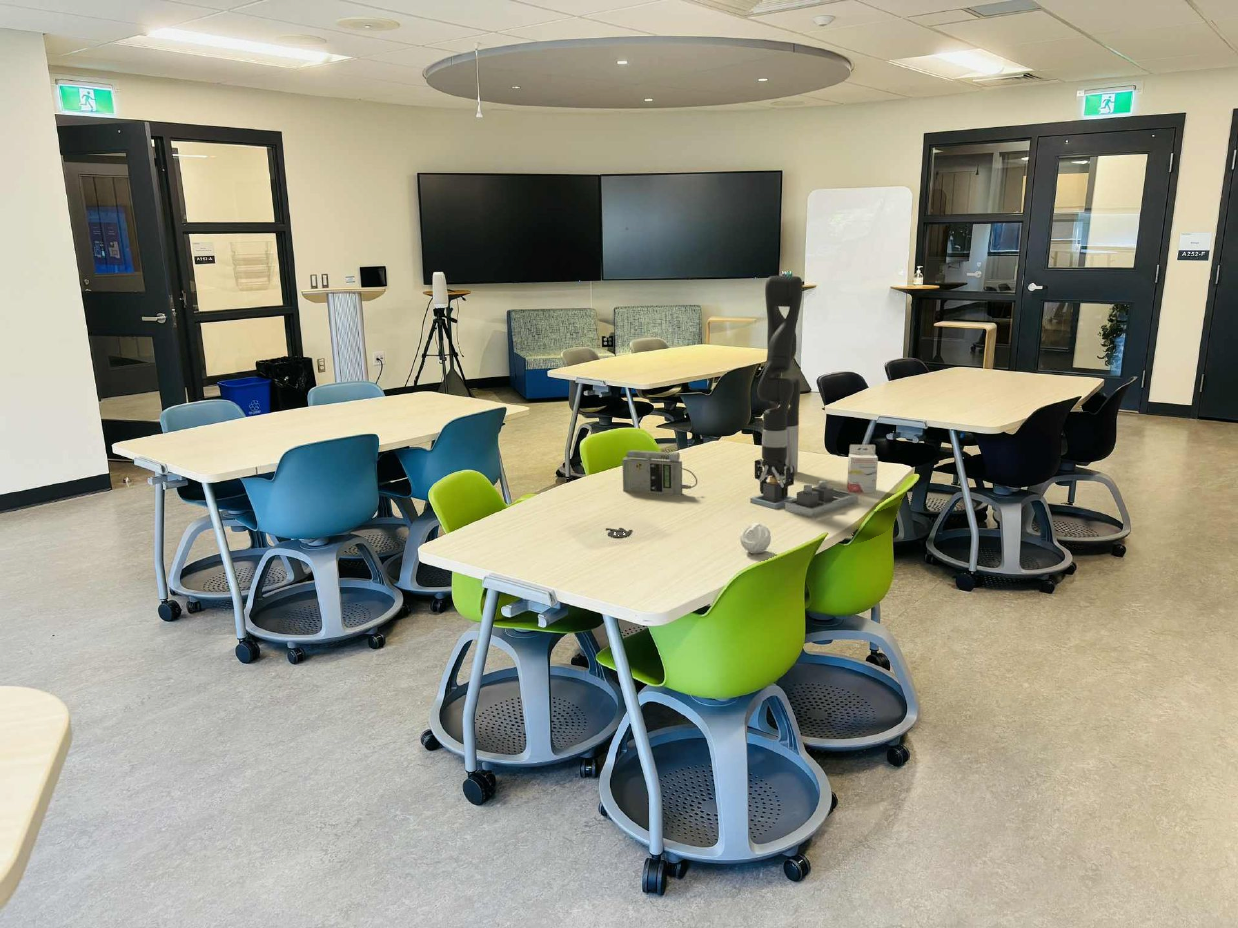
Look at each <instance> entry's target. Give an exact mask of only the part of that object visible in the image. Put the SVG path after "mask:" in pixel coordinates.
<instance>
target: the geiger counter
mask: <svg viewBox="0 0 1238 928" xmlns="http://www.w3.org/2000/svg"><path fill="white" fill-rule="evenodd" d="M680 455H681V454H680V452H679V451H678V452H677V451H670V452H666V451H665V452H664V451H663V452H662V451H649V450H634V449H633V450H632V449H631V450H630V449H629V450H628V451H627V452H626V453H625V457H623V458H622V462H621V463H622V491H623V492H630V493H631V492H632V493H641V494H643V493H644V494H654V495H665V496H677V497H679V496H682V494H683V490H684V489H685V490H688V489H689V490H691V489H693V488H694V487H696V486H697V485H698V479H697V476H696V475H695V474H694V472H692V471H691V470H689V469H687V468H684V467H683V461H682V460H680V457H681V456H680ZM683 471H686V472H689V473H690V474H691V475H692V476H693V477H694V479H695V484H694V485H690V484H689V485H688V484H683Z"/></svg>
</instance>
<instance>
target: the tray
mask: <svg viewBox="0 0 1238 928" xmlns="http://www.w3.org/2000/svg"><path fill="white" fill-rule="evenodd" d="M749 499H750V502H749V503H750V504H754V505H758V506H762V507H765V508H769V509H772V510H778V509H781V508H785V502H788V501H791V500H794V499H797V497H793V496H789V495H788V496H787V497H786V498H785V499H784V501H781V502H778V503H772V502H768V501H764V500H763V494H760V495H757V496H753V497H750V498H749Z"/></svg>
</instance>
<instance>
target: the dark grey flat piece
mask: <svg viewBox="0 0 1238 928" xmlns="http://www.w3.org/2000/svg"><path fill="white" fill-rule="evenodd" d="M605 529H606V530H605V531H607V530H610V531H608V532H607V536H608V537H609V536H611V537H613V539H624V538H623V537H625V538H628V537H630V536H631V535H632V533H633V530H632V529H629V530H628V531H627V530H626V529H624V528H623V527H619V528H618V529H617V528H610V527H607V528H605ZM619 529H620V530H619ZM614 532H616V533H615V534H616V535H614ZM623 532H624V533H625V535H623V534H624V533H623ZM631 532H632V533H631ZM618 535H619V536H618ZM627 536H628V537H627ZM611 537H610V538H611Z"/></svg>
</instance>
